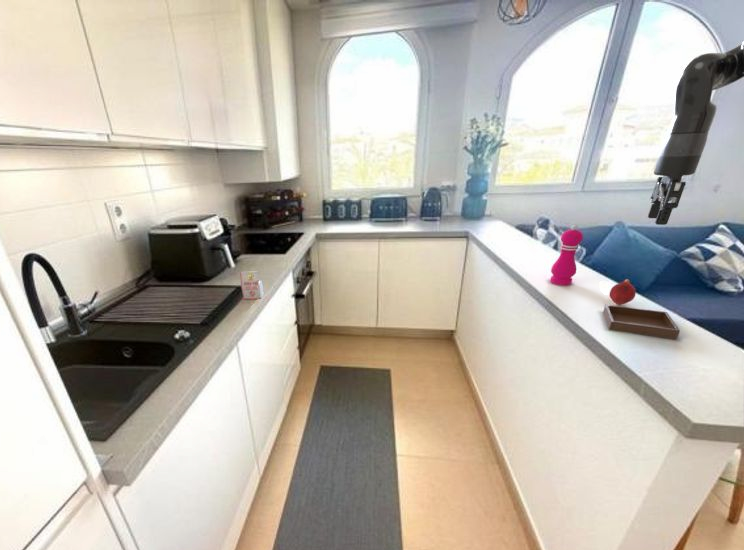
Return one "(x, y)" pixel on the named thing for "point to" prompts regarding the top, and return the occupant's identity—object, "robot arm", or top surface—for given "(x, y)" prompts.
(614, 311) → the serving tray
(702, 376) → the top surface
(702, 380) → the top surface
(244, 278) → the pink carton box
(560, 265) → the pepper mill
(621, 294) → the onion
